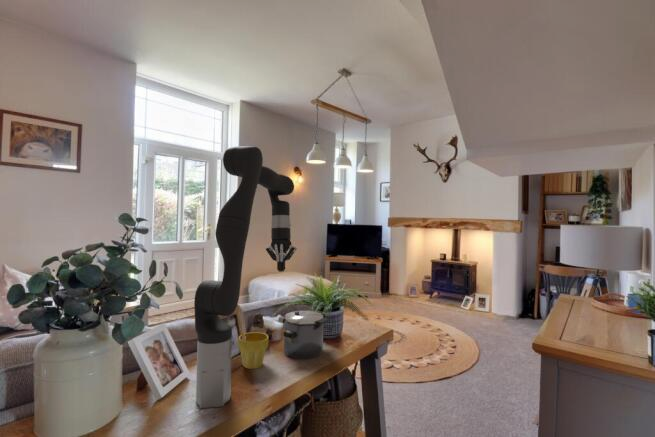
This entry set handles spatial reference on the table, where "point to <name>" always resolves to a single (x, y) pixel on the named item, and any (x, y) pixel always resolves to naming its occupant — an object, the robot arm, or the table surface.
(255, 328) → the figurine
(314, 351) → the cooker pot
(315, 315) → the cooker lid
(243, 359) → the plant pot
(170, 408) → the table surface
